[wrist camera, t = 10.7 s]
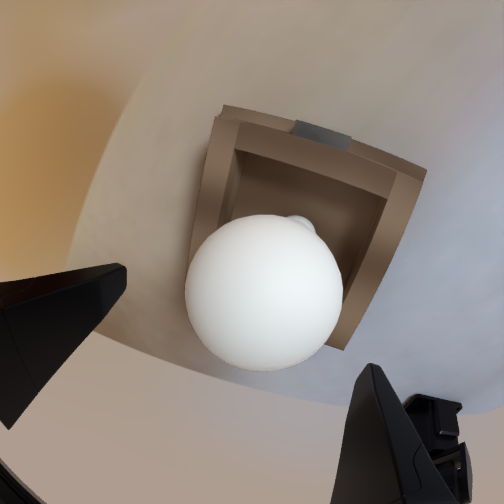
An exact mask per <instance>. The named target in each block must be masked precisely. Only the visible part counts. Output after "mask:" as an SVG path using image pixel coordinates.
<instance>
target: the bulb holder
mask: <svg viewBox="0 0 504 504" xmlns="http://www.w3.org/2000/svg"><path fill="white" fill-rule="evenodd" d="M351 138H352V137H350V136H347V135H344V134H341V133H338V132H335V131H332V130H329V129H326V128H323V127H320V126H316V125H313V124H310V123H306V122H303V121H299V120H296V121H292V120H288V119H285V118H281V117H277V116H273V115H269V114H265V113H261V112H256V111H252V110H247V109H243V108H238V107H233V106H228V105H223V109H222V113H221V117H216V116H215V119H214V123H213V128H212V132H211V137H210V141H209V146H208V151H207V156H206V161H205V166H204V171H203V176H202V181H201V186H200V192H199V197H198V203H197V208H196V214H195V220H194V226H193V232H192V238H191V245H190V251H189V258H188V265H187V272H186V278H187V273H188V270H189V266H190V264H191V262H192V260H193V258H194V256H195V254H196V252H197V251H198V249H199V247H200V246H201V245H202V244H203V242H204V241H205V240H206V239H207V238H208V237H209V236H210V235H211V234H213V233H214V232H215V231H216V230H218V229H219V228H220V227H222V226H223V225H225V224H227V223H229V222H231V221H233V220H236V219H238V218H243V217H248V216H252V215H277V216H281V217H288V216H292V215H298V216H302V217H304V218H306V219H308V220H309V221H310V222H311V223H312V225H313V226H314V228H315V231H316V234H317V235H318V236H319V237H320V238H321V239H322V240H323V241H324V242H325V244H326V245H327V247H328V248H329V250H330V251H331V253H332V254H333V256H334V259H335V261H336V263H337V266H338V268H339V271H340V273H341V279H342V285H343V295H342V308H341V312H340V315H339V318H338V321H337V324H336V326H335V328H334V330H333V331H332V333H331V334H330V336H329V338H328V339H327V341H326V342H325V343H324V344H325V345H328V346H331V347H334V348H337V349H340V350H344V348H345V347H346V345H347V343H348V342H349V340H350V338H351V337H352V335H353V333H354V331H355V330H356V328H357V326H358V324H359V323H360V321H361V319H362V317H363V315H364V314H365V312H366V310H367V308H368V306H369V304H370V302H371V301H372V299H373V297H374V295H375V293H376V291H377V289H378V287H379V285H380V283H381V281H382V279H383V277H384V275H385V273H386V271H387V269H388V267H389V264H390V262H391V260H392V258H393V256H394V254H395V251H396V249H397V247H398V245H399V242H400V240H401V238H402V236H403V233H404V231H405V229H406V226H407V224H408V221H409V219H410V216H411V214H412V211H413V209H414V206H415V204H416V201H417V198H418V196H419V193H420V190H421V188H422V185H423V181H424V178H425V175H426V172H427V170H426V169H424V168H422V167H420V166H418V165H415V164H413V163H411V162H409V161H406V160H404V159H402V158H399V157H397V156H394V155H392V154H390V153H387V152H385V151H382V150H380V149H377V148H374V147H372V146H369V145H366V144H364V143H361V142H358V141H356V140H353V139H351ZM185 282H186V279H185ZM184 290H185V286H184Z"/></svg>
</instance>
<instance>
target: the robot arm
mask: <svg viewBox="0 0 504 504" xmlns="http://www.w3.org/2000/svg"><path fill="white" fill-rule="evenodd" d="M126 286H127V269H126V267H125V266H123V265H121V264H119V263H111V264H106V265H100V266H94V267H89V268H83V269H77V270H72V271H66V272H61V273H55V274H49V275H45V276H38V277H35V278H34V277H33V278H28V279H22V280H16V281H8V282H0V421H1V422H2V423H3V425H4V426H5V427H6V428H7V429H8V430H9V429H10V428H11V427H12V426H13V425H14V423H15V422H16V421H17V420H18V418H19V417H20V416H21V414H22V413H23V412H24V411H25V409H26V408H27V407H28V405H29V404H30V403H31V402H32V401H33V399H34V398H35V396H37V394H38V392H40V390H41V389H42V388H43V387H44V386H45V385H46V383H47V382H48V381H49V380H50V379H51V377H52V376H53V375H54V374H55V373H56V371H57V370H58V369H59V368H60V367H61V366H62V364H63V363H64V362H65V361H66V360H67V359H68V358H69V356H70V355H71V354H72V353H73V352H74V351H75V350H76V348H77V347H78V346H79V345H80V344H81V343H82V342H83V341H84V339H85V338H86V337H87V336H88V335H89V334H90V333H91V332H92V331H93V330H94V329H95V327H96V326H97V325H98V324H99V323H100V322H101V321H102V320H103V319H104V317H105V316H106V315H107V314H108V312H109V311H110V309H111V308H112V307H113V306H114V304H115V303H116V302H117V300H118V299H119V298H120V296H121V295H122V294H123V292H124V291H125V289H126ZM461 409H462V404H461V403H458V402H453V401H448V400H443V399H439V398H435V397H430V396H426V395H422V394H417V395H415V396H414V397H413V398H412V399H411V400H410V401H409V402H408V403H407V404H406V405H405V406H404V407H403V406H402V404H401V402H400V400H399V398H398V397H397V395H396V393H395V391H394V389H393V388H392V386H391V384H390V382H389V381H388V379H387V377H386V375H385V374H384V372H383V370H382V368H381V367H380V366H379V365H376V364H373V363H368V364H367V365H366V367H365V368H364V369H363V371H362V372H361V374H360V375H359V376H358V378H357V380H356V382H355V385H354V390H353V394H352V398H351V402H350V406H349V411H348V414H347V418H346V423H345V429H344V435H343V441H342V448H341V453H340V459H339V464H338V470H337V475H336V479H335V485H334V489H333V493H332V498H331V503H330V504H469V503H471V500H472V468H471V461H470V456H469V453H468V450H467V447H466V444H465V442H463V443H460V444H458V436H459V427H458V421H457V416H456V414H457V413H458V412H459V411H460V410H461ZM458 468H460V469H458ZM457 469H458V470H457ZM0 504H46V503H45V502H44V501H43V500H42V499H41V498H40V497H38V496H37V495H36V494H35V493H34V492H33V491H32V490H31V489H30V488H29V487H28V486H27V485H25V484H24V483H23V482H22V481H21V480H20V479H19V478H18V477H17V476H16V475H15V474H14V473H13V472H12V471H11V469H9V467H8V466H7V465H6V464H5V463H4V462H3V461H2V460H1V458H0Z"/></svg>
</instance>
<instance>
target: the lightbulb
mask: <svg viewBox="0 0 504 504" xmlns="http://www.w3.org/2000/svg"><path fill="white" fill-rule="evenodd" d="M342 295H343V285H342V279H341V273H340V271H339V268H338V266H337V263H336V261H335V259H334V256H333V254H332V253H331V251H330V250H329V248H328V247H327V245H326V244H325V242H324V241H323V240H322V239H321V238H320V237H319V236H318V235H317V234H316V231H315V228H314V226H313V225H312V223H311V222H310V221H309V220H308V219H306V218H304V217H302V216H298V215H292V216H288V217H281V216H277V215H252V216H248V217H243V218H238V219H236V220H233V221H231V222H229V223H227V224H225V225H223V226H222V227H220V228H219V229H218V230H216V231H215V232H214V233H213V234H211V235H210V236H209V237H208V238H207V239H206V240H205V241H204V242H203V244H202V245H201V246H200V247H199V249H198V251H197V252H196V254H195V256H194V258H193V260H192V262H191V264H190V266H189V270H188V273H187V278H186V282H185V302H186V309H187V313H188V317H189V319H190V322H191V324H192V326H193V329H194V331H195V333H196V334H197V336H198V337H199V339H200V341H201V342H202V343H203V344H204V345H205V346H206V348H207V349H208V350H210V351H211V352H212V353H213V354H214V355H215V356H217V357H218V358H220V359H221V360H223V361H224V362H226V363H228V364H231V365H233V366H235V367H238V368H241V369H244V370H250V371H256V372H267V371H275V370H281V369H285V368H288V367H291V366H294V365H296V364H298V363H300V362H302V361H304V360H306V359H307V358H309V357H310V356H312V355H313V354H314V353H315V352H316V351H317V350H318V349H319V348H320V347H321V346H322V345H323V344H324V343H325V342H326V341H327V339H328V338H329V336H330V334H331V333H332V331H333V330H334V328H335V326H336V324H337V321H338V318H339V315H340V312H341V308H342Z"/></svg>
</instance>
